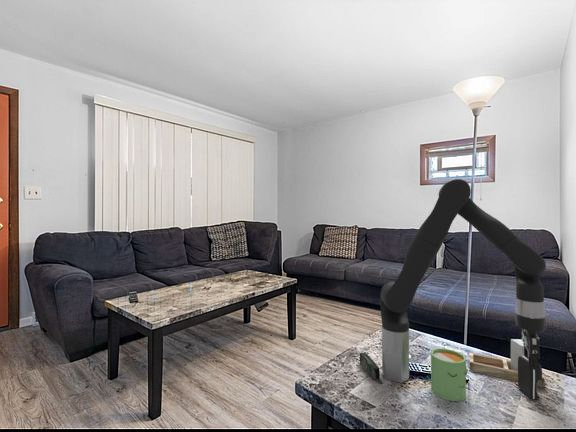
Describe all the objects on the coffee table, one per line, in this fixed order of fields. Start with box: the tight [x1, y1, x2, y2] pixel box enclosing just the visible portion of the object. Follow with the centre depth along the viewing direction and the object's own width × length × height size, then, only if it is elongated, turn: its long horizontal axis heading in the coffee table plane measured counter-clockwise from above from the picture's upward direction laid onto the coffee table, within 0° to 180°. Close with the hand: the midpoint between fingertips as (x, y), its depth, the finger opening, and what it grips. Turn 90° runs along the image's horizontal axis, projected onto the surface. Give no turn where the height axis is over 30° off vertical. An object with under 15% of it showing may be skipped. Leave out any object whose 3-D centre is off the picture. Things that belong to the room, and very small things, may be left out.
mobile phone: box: [359, 352, 383, 385], centre depth 112 cm, size 5×3×15 cm
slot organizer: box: [469, 352, 546, 388], centre depth 112 cm, size 9×22×3 cm, turn 59°
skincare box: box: [510, 338, 535, 371], centre depth 109 cm, size 6×4×12 cm
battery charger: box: [517, 356, 543, 400], centre depth 98 cm, size 7×4×11 cm, turn 173°
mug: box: [430, 348, 468, 402], centre depth 100 cm, size 13×10×12 cm
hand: (530, 363), depth 98 cm, fingers open, 8 cm apart
